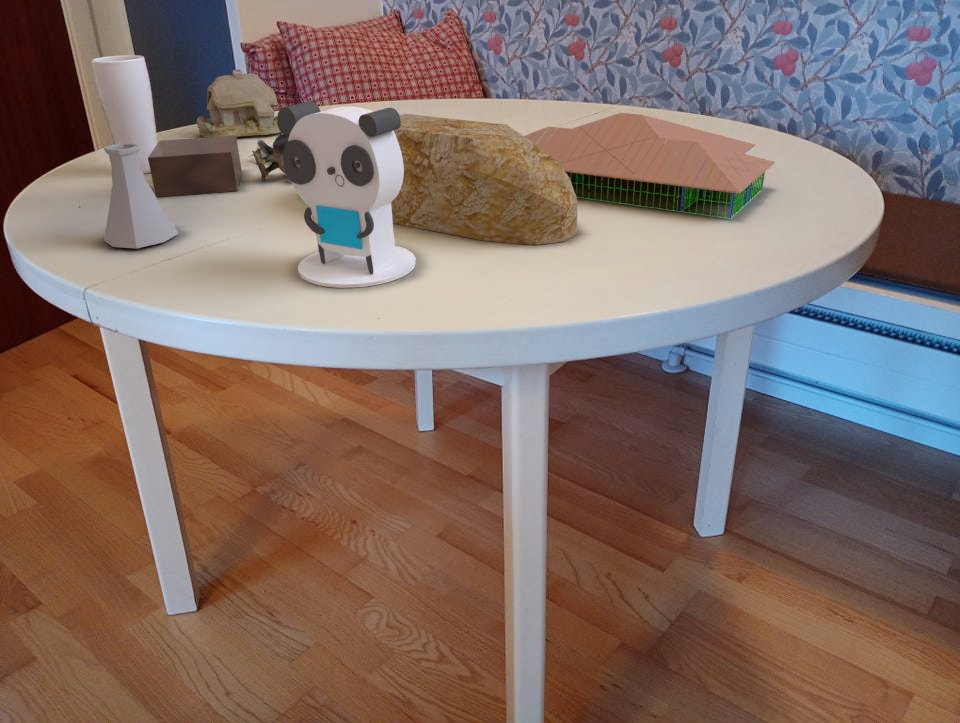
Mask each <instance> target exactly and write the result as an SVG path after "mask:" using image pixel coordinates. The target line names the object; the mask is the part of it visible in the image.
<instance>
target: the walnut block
mask: <svg viewBox="0 0 960 723" xmlns="http://www.w3.org/2000/svg"><path fill="white" fill-rule="evenodd" d="M237 139H238V137H236V136H222V137H192V138H177V139H176V138H175V139H163V140H161V139H160V140H159V141H157V142H158V144H157V145H156V147H155V148H154V149H153V151H152V152H151V154H150V155H149V157H148V161H149V166H150V171H151V172H150V175H151V179H152V184H153V191H154V194H155V196H156V198H164V197H176V196H177V197H178V196H179V197H180V196H191V195H192V196H193V195H204V194H217V193H218V194H219V193H229V192H230V193H231V192H238V190H239V186H240V181H241V177H242V173H243V170H242V169H243V168H242V164H241V158H240V150H239V144H238V140H237Z"/></svg>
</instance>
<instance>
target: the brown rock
mask: <svg viewBox="0 0 960 723" xmlns="http://www.w3.org/2000/svg"><path fill="white" fill-rule="evenodd" d="M399 116H400V121H401V125H400V128H399V129H396V130H393V131H394V133H395V135H396V138H397V140H398V143H399V146H400V150H401V154H402V158H403V165H404V177H403V183H402V186H401V189H400V191H399V193H398V195H397V196H396V198H395V199H394V200H393V201H392V202H391V207H392V220H393V224H396V225H401V226H405V227H411V228H416V229H420V230H421V229H422V230H427V231H430V232H436V233H441V234H447V235H451V236H456V237H462V238H467V239H471V240H478V241H483V242H485V241H486V242H494V243H495V242H496V243H506V244H507V243H508V244H519V245H530V246H531V245H532V246H539V245H549V244H555V243H565V242H566V241H568V240H570V239H571V238H573V237H575V236H576V235H577V234H578V208H579V206H578V205H579V201H578V197H576V191H575V189H574V186H573V183H571V182H572V180H571V181H570V175H568V173H567V174H566V172H565V171H564V170H563V168H562V167H561V166H560V165H559V163H558V162H557V161H556V159H554V158H553V157H551V156H550V155H549V154H547V153H546V152H545V151H543V150H542V149H541V148H539V147H538V146H537V145H535V144H534V143H533V142H531V141H530V140H528V139H527V138H526V137H524V136H525V135H523V134H522V133H520V132H519V131H517V130H516V129H514V128H513V127H511V126H509V125H508V124H505V123H504V124H503V123H495V122H485V121H477V120H467V119H459V118H458V119H457V118H448V117H440V116H439V117H438V116H432V115H431V116H430V115H420V114H413V113H412V114H411V113H401V114H399Z"/></svg>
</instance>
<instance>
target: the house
mask: <svg viewBox="0 0 960 723" xmlns="http://www.w3.org/2000/svg"><path fill="white" fill-rule="evenodd" d="M523 136H524V137H526V138H527V139H528V140H530V141H531V142H533V143H534V144H535V145H537V146H538V147H539V148H541V149H542V150H543V151H545V152H546V153H547V154H549V155H550V156H551V157H553V158H554V159H556V161H557V162H558V163H559V165H560V166H561V167H562V168H563V170H564V171H565V172H566V174H567V175H568V173H569V178H570V181H571V183H572V184H576V186H575V187H576V188H575V195H576V198H577V199H584V200H585V199H586V200H593V201H600V202H607V203H614V204H620V205H629V206H635V207H643V208H649V209H656V210H663V211H671V212H677V213H685V214H692V215H699V216H700V215H701V216H707V217H714V218H721V219H727V220H728V219H729V220H732V219H733V217H735V216H736V215H737V214H739V212H740V211H741V210H742V209H743V208H744V207H745V206H747V205H748V204H749V203H750V202H751V201H752V200H754V198H755V197H756V196H757V195H759V194H760V193H761V192H762V191H763V188H764V181H765V173H766V171H767V170H768V169H770V168H771V167H772V166H773V165H774V164H775V163H776V162H775V161H774V160H770V159H766V158H761V157H757V156H754V155H749V154H746V153H747V152H749V151H751V149H753V148H754V147H755V146H756V144H755V143H751V142H747V141H744V140H740V139H736V138H733V137H729V136H725V135H720V134H717V133H714V132H710V131H706V130H701V129H698V128H694V127H690V126H687V125H682V124H679V123H675V122H671V121H667V120H663V119H660V118H656V117H652V116H648V115H646V114H645V115H644V114H637V113H629V112H628V113H627V112H618V113H616V114H613V115H609V116H607V117H603V118H600V119H597V120H594V121H591V122H588V123H585V124H582V125H579V126H576V127H573V128H569V127H559V126H547V127H544V128H541V129H538V130H536V131H533V132H531V133H528V134H525V135H523ZM573 174H575V177H573ZM585 175H587V176H588V184H587V183H584V181H585ZM591 176H595V177H594V178H595V180H594V184H593V186H594V196H596V194H597V192H596V191H597V177H601V180H603V178H607V186H606V185H603V183H601V184H600V185H598V187H600V199H596V198H590V193H588V197H584V187H581V188H582V191H581V192H582V193H581V196H578V184H579V185H583V186H588V189H591V188H590V186H592V183H591ZM610 178H612V179H618V180H619V179H620V187H616V180H614V181H613V182H614V183H613V197H615V194H616V189H617V190H619V191H620V194H619V202H617V201H615V199H613V201H610V200H609V191H606V192H607V194H606V200H603V198H602V197H603V188H607V189H612V187H610V186H609V185H610ZM572 180H575V182H573V181H572ZM623 180H627V181H633V189H630V188H629V182H627V184H626V185H627V187H626V188H625V189H624V188H622V186H623V185H622V183H623V182H622V181H623ZM636 182H640V186H642V183H643V182H645V183H647V187H646V191H645V190H642V187H640V190H635V188H636ZM649 183H652V184H653V192H651V194H652V196H653V198H652V206H648V198H646V201H645V205H641V202H639V204H634V203H635V191H636V192H638V193H639V200H641V199H642V193H646V196H648V194H650V192H649ZM656 184H658V185H660V191H663V190H662V188H663V185H667V190H669V188H670V186H674V190H676V187H681V195H680V188H678V189H677V195H676V191H673V192H674V193H673V194H669V191H667V193H666V194H664V193H662V192H655V190H656ZM622 190H623V191H626V197H628V194H629V191H631V192H632V191H633V197H632V203H628V199H626V201H625V202H622ZM700 190H701V196H702V198H700ZM714 191H715V192H716V194H715V196H714ZM708 192H709V196H708V195H706V194H707V193H708ZM721 192H723V195H722V196H721ZM718 193H719V194H718ZM725 193H726V197H725ZM655 194H656V195H659V204H661V201H662V196H666V202H668V199H669V196H672V197H673V205H672V209H668V203H666V204H665V205H666V206H665V208H661V205H659V207H655V206H654V203H655ZM729 194H730V195H729ZM728 195H729V196H728ZM679 197H680V207H679V199H677V200H675V199H676V198H679ZM706 197H708V199H706ZM711 198H715V200H713V199H711ZM721 199H722V201H721ZM725 199H726V201H725ZM728 200H729V202H728ZM675 201H676V210H675V209H674V208H675ZM698 201H703V208H702V213H697V211H698ZM706 201H707V202H710V211H709V214H704V212H705V204H706ZM694 203H695V204H696V207H695V212H690V209H691V205H693V204H694ZM713 203H718V205H717V210H719V209H720V208H719V207H720V204H725V205H727V204H729V205H730V209H729V216H728V217H726V212H727V206H725V208H724V216H719V211H716V212H717V214H716V215H712V205H713ZM678 207H679V210H677V209H678ZM686 209H688V211H685V210H686Z"/></svg>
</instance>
